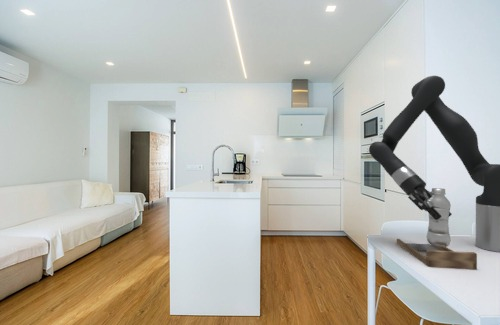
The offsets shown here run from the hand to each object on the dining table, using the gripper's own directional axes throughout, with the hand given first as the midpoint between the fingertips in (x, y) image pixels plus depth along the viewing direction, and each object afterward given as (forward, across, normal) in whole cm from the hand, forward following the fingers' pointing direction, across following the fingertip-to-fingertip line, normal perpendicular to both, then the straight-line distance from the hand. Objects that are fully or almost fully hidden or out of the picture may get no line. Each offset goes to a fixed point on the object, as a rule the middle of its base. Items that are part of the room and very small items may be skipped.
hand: (444, 217), depth 82 cm
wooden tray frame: (+7, +2, +14) cm, 16 cm away
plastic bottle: (+6, 0, +9) cm, 11 cm away
